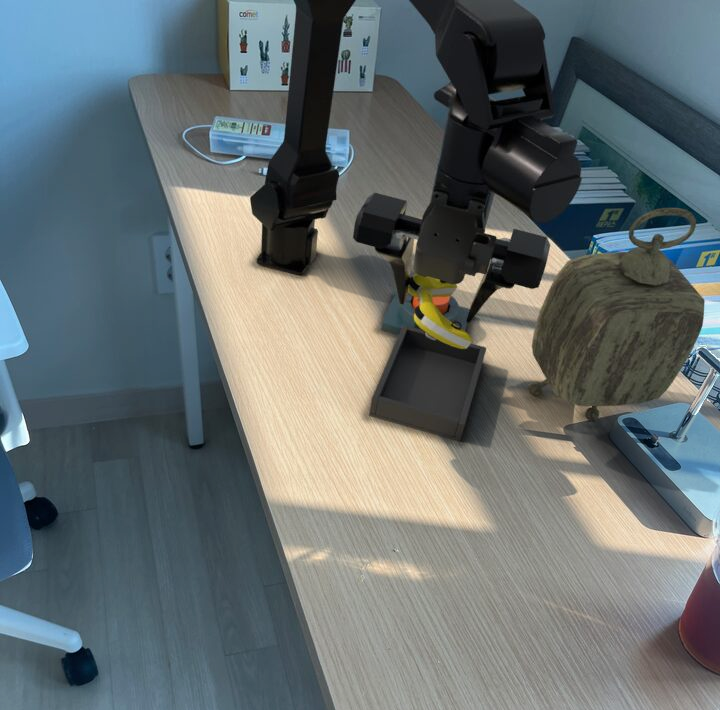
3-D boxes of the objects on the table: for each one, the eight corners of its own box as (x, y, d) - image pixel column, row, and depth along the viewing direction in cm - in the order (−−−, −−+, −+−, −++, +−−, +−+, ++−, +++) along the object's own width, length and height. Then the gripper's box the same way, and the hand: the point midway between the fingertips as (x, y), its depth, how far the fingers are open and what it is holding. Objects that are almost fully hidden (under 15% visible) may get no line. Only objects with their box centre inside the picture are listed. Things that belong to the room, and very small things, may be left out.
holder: (368, 416, 83) (371, 397, 81) (399, 342, 93) (403, 324, 91) (459, 442, 82) (465, 424, 80) (481, 365, 92) (486, 347, 90)
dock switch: (380, 330, 94) (384, 310, 92) (395, 296, 100) (399, 277, 97) (457, 351, 93) (463, 332, 91) (469, 316, 99) (474, 297, 96)
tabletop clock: (621, 379, 94) (716, 187, 75) (654, 430, 88) (766, 236, 69) (513, 384, 90) (585, 185, 72) (540, 438, 84) (626, 236, 66)
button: (408, 311, 93) (411, 299, 92) (416, 292, 96) (419, 280, 95) (443, 320, 93) (446, 308, 92) (450, 301, 96) (453, 289, 95)
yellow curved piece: (396, 283, 83) (413, 257, 81) (444, 304, 86) (461, 280, 83) (407, 339, 76) (425, 313, 74) (458, 360, 79) (477, 335, 77)
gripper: (345, 181, 64) (328, 330, 76) (560, 236, 63) (509, 380, 74) (379, 131, 72) (359, 274, 83) (572, 180, 70) (524, 319, 81)
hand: (435, 311), depth 80 cm, fingers closed on yellow curved piece, 7 cm apart
